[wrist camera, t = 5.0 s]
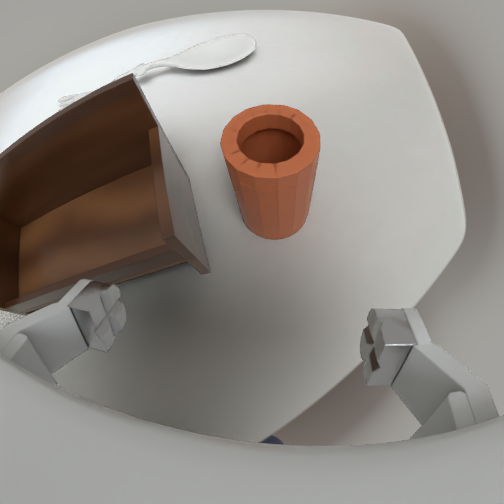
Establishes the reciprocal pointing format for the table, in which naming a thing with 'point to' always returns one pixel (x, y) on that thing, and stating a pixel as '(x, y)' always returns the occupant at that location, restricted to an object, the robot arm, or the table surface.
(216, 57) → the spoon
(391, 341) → the robot arm
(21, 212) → the box
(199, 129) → the table surface
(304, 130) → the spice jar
